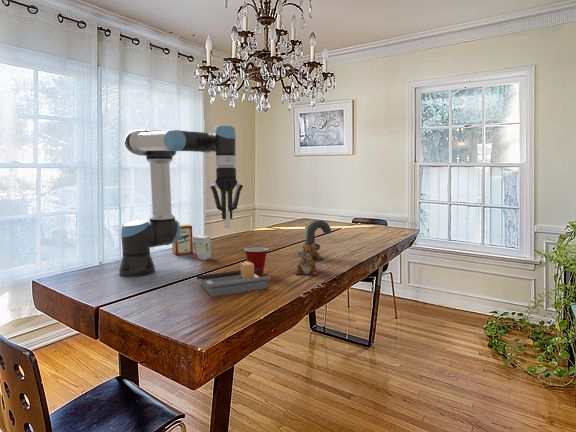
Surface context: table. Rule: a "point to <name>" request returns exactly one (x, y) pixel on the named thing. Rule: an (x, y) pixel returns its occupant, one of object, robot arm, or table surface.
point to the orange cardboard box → (184, 241)
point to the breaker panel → (231, 288)
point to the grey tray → (231, 281)
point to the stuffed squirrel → (308, 261)
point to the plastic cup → (257, 258)
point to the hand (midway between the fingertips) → (227, 227)
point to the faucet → (311, 235)
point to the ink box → (201, 247)
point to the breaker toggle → (247, 270)
